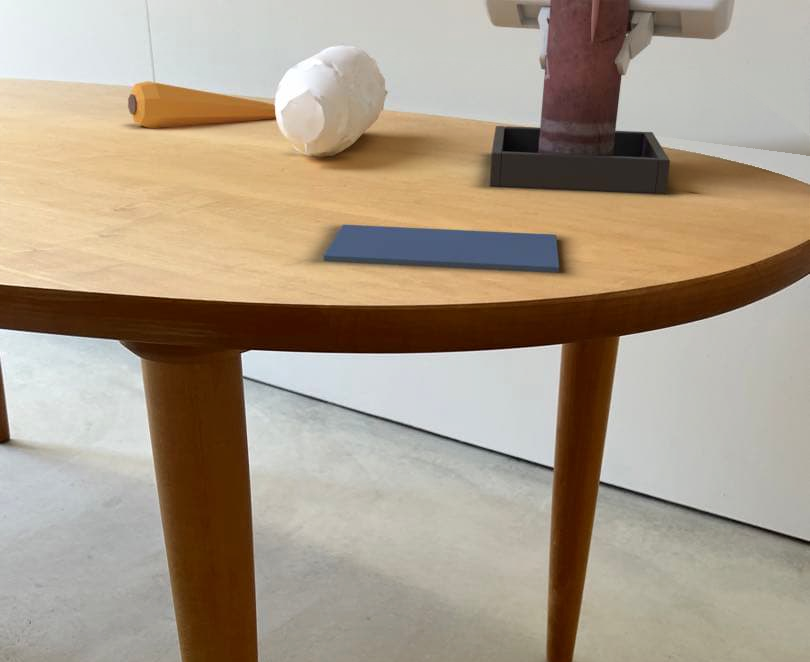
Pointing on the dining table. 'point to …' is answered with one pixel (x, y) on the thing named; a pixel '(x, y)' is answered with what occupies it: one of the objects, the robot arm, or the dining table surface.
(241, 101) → the carrot
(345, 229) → the blue-grey flat slab
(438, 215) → the dining table surface
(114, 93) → the dining table surface
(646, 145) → the dark grey open box
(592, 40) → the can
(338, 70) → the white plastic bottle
